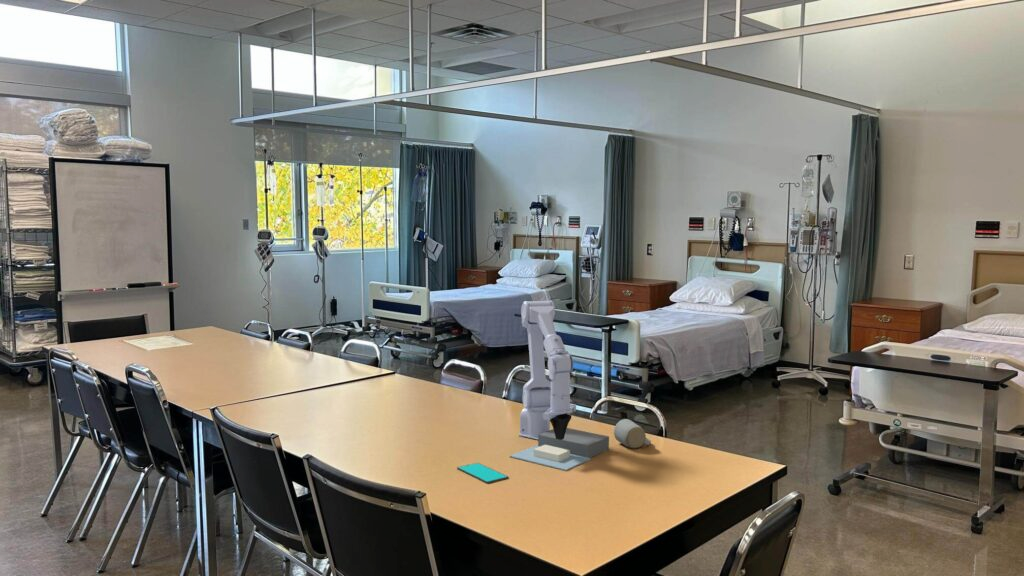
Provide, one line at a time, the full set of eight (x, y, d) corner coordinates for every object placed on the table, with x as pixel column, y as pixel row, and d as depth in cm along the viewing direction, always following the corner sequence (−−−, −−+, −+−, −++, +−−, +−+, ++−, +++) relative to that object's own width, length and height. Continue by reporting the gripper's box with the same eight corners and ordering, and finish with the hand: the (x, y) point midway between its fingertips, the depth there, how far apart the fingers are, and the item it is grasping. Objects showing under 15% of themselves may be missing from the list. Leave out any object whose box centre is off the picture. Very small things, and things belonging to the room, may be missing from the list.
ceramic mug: (626, 451, 226) (627, 426, 226) (613, 443, 234) (613, 419, 233) (656, 447, 230) (657, 423, 230) (642, 440, 238) (642, 416, 237)
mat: (509, 457, 220) (509, 455, 220) (535, 446, 230) (535, 445, 230) (566, 471, 208) (566, 469, 208) (590, 459, 218) (590, 458, 218)
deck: (538, 447, 229) (538, 434, 229) (560, 438, 239) (560, 426, 239) (587, 458, 218) (588, 445, 218) (608, 449, 228) (609, 436, 228)
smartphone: (487, 482, 197) (456, 467, 209) (487, 485, 197) (456, 470, 209) (509, 476, 202) (478, 462, 214) (509, 479, 202) (478, 465, 214)
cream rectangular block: (545, 444, 224) (545, 451, 224) (533, 449, 220) (533, 455, 220) (570, 450, 219) (569, 456, 219) (558, 455, 214) (558, 461, 214)
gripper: (557, 400, 213) (557, 446, 214) (584, 391, 224) (584, 435, 226) (537, 397, 217) (537, 442, 219) (565, 388, 229) (564, 431, 230)
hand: (559, 438), depth 222 cm, fingers closed
